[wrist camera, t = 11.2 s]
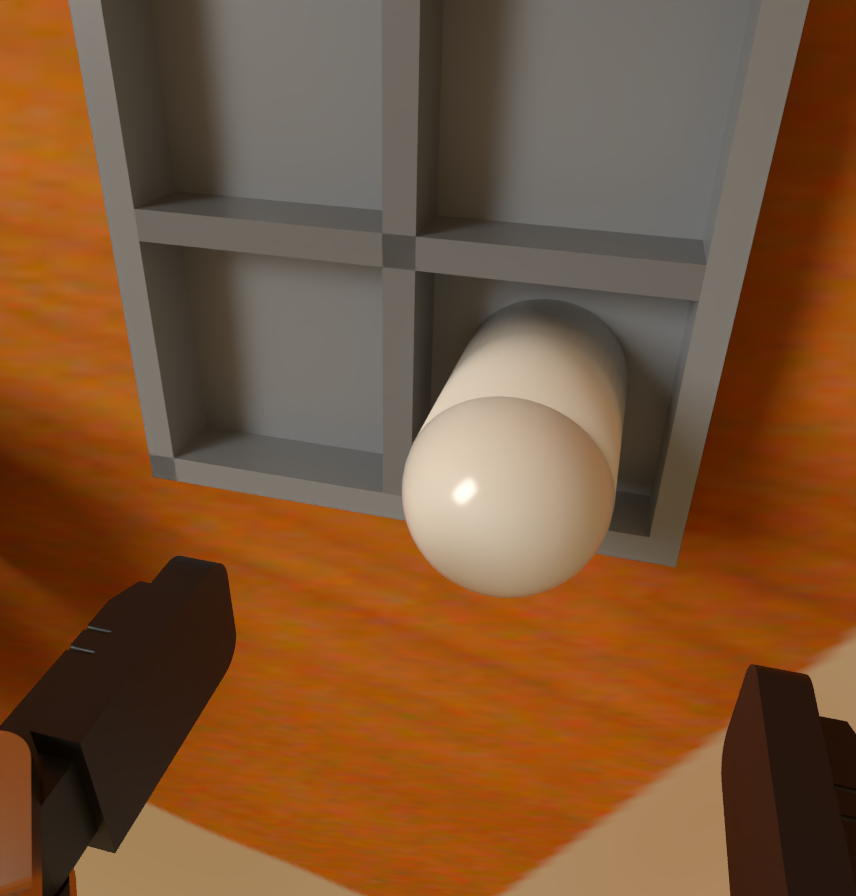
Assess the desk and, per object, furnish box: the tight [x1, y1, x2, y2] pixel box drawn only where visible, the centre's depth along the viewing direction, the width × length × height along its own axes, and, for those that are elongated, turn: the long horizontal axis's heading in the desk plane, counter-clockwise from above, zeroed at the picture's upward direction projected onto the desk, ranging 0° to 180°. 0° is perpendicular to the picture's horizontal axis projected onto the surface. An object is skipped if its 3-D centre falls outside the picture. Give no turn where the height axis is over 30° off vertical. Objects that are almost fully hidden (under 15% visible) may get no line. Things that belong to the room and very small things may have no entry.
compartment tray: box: [69, 0, 810, 567], centre depth 19 cm, size 15×15×2 cm
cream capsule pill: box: [402, 299, 628, 598], centre depth 18 cm, size 4×4×8 cm
